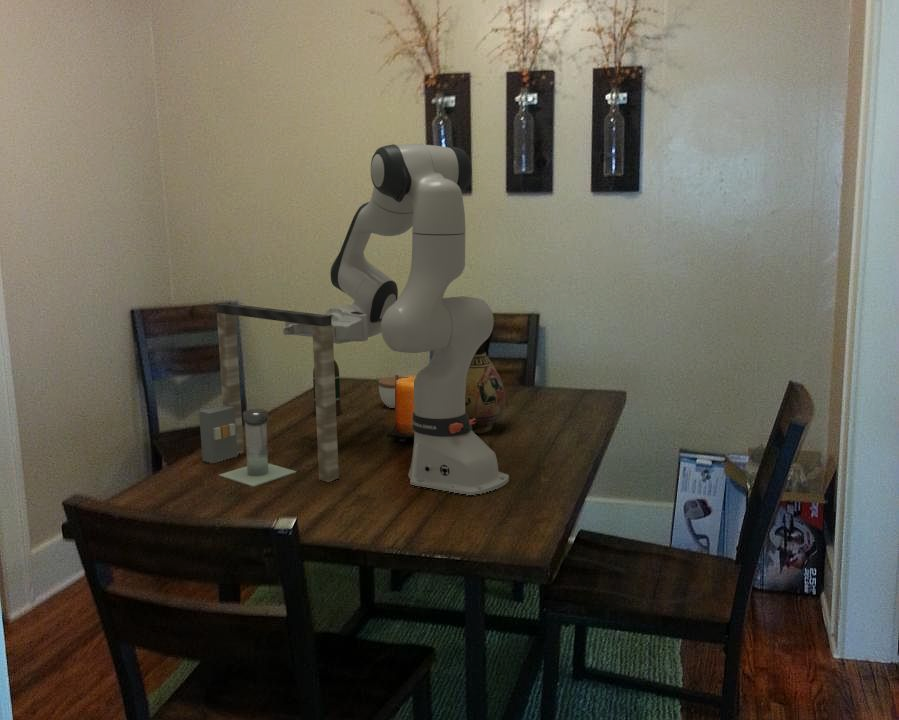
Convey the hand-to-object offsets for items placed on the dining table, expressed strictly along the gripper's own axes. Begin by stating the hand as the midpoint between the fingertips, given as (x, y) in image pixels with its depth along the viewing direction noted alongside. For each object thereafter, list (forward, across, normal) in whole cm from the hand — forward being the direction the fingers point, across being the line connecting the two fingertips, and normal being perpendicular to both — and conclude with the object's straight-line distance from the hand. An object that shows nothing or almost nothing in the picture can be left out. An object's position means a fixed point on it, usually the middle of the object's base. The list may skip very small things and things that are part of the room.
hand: (300, 332), depth 203 cm
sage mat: (+15, 0, +30) cm, 33 cm away
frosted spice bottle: (+15, 0, +29) cm, 33 cm away
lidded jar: (-50, -12, +30) cm, 60 cm away
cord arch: (+8, -1, +30) cm, 31 cm away
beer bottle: (-33, -23, +30) cm, 50 cm away
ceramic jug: (-42, +21, +30) cm, 56 cm away
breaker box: (+12, -17, +30) cm, 36 cm away
